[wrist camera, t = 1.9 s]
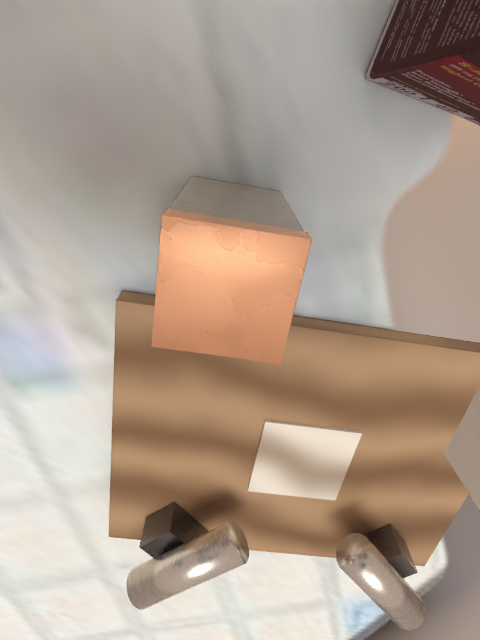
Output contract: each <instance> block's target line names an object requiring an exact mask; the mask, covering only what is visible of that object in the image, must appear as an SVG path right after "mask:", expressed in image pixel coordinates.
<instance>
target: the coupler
mask: <svg viewBox="0 0 480 640" xmlns="http://www.w3.org/2000/svg"><path fill="white" fill-rule="evenodd" d="M311 242H312V239H311V237H310V236H309V234H308V232H305V231H304V230H303V228H302V226H301V225H300V223H299V221H298V220H297V218H296V217H295V215H294V213H293V212H292V210H291V208H290V207H289V205H288V203H287V202H286V200H285V199H284V197H283V195H282V194H281V192H280V191H276V190H270V189H264V188H258V187H253V186H247V185H241V184H235V183H230V182H224V181H218V180H212V179H207V178H201V177H195V176H191V177H190V179H189V180H188V182H187V183H186V185H185V186H184V187H183V189H182V190H181V192H180V193H179V195H178V196H177V198H176V199H175V200H174V202H173V203H172V205H171V206H170V208H169V209H166V210H165V211H164V213H163V214H162V219H161V232H160V244H159V257H158V269H157V282H156V295H155V307H154V320H153V332H152V345H151V347H158V348H165V349H173V350H180V351H188V352H195V353H202V354H210V355H217V356H225V357H232V358H239V359H247V360H254V361H262V362H269V363H277V364H281V360H282V356H283V352H284V348H285V344H286V340H287V336H288V332H289V329H290V325H291V321H292V317H293V313H294V309H295V305H296V301H297V297H298V293H299V289H300V285H301V281H302V277H303V274H304V270H305V266H306V262H307V258H308V254H309V250H310V246H311Z"/></svg>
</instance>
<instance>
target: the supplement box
mask: <svg viewBox="0 0 480 640" xmlns="http://www.w3.org/2000/svg"><path fill="white" fill-rule="evenodd" d="M366 79H367V80H370V81H372V82H375V83H377V84H380V85H383V86H385V87H388V88H390V89H393V90H395V91H398V92H400V93H402V94H405V95H408V96H410V97H413V98H415V99H418V100H421V101H423V102H426V103H428V104H431V105H433V106H436V107H438V108H441V109H443V110H446V111H448V112H450V113H453V114H455V115H457V116H460V117H462V118H464V119H466V120H469V121H471V122H473V123H475V124H477V125H480V0H396V2H395V4H394V7H393V9H392V12H391V14H390V17H389V19H388V22H387V24H386V27H385V29H384V31H383V34H382V36H381V39H380V41H379V44H378V46H377V49H376V51H375V54H374V56H373V58H372V61H371V63H370V66H369V68H368V71H367V73H366Z"/></svg>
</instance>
